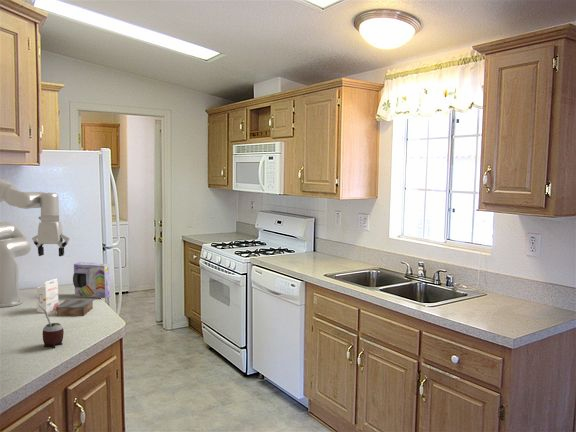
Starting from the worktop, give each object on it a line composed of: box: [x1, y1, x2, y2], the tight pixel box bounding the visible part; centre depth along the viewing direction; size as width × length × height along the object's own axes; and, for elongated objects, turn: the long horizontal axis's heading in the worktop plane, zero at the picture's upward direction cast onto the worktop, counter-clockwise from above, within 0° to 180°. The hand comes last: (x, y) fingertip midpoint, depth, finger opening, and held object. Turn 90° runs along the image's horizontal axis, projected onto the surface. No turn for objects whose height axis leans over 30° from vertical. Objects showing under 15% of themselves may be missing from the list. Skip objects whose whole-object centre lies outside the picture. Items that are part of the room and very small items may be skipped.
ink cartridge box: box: [36, 277, 59, 314], centre depth 219 cm, size 9×5×15 cm, turn 168°
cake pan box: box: [72, 261, 111, 299], centre depth 245 cm, size 19×5×18 cm, turn 77°
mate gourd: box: [39, 306, 65, 349], centre depth 176 cm, size 8×8×15 cm
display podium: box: [55, 299, 94, 317], centre depth 219 cm, size 12×12×4 cm
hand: (51, 255), depth 220 cm, fingers open, 9 cm apart
